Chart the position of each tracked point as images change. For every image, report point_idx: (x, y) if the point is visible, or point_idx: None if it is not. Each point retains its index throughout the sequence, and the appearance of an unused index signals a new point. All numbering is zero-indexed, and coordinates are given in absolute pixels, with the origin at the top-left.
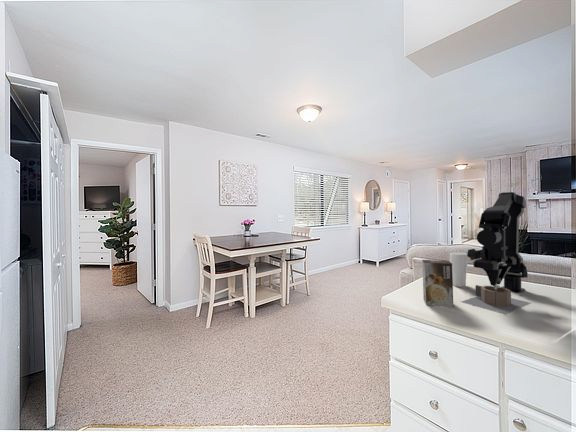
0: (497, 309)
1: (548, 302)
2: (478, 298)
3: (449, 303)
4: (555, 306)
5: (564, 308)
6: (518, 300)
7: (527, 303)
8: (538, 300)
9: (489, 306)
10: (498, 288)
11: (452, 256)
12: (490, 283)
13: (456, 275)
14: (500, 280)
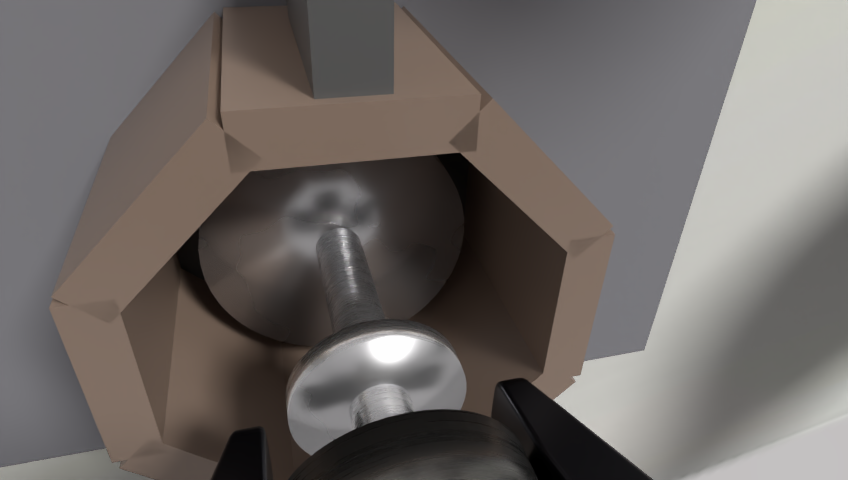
0: (17, 364)
1: (776, 366)
2: None
3: None
4: (685, 429)
5: (672, 464)
6: (644, 267)
7: (590, 349)
8: (796, 312)
9: (14, 264)
10: (545, 282)
11: None
12: (217, 468)
13: None
14: None
